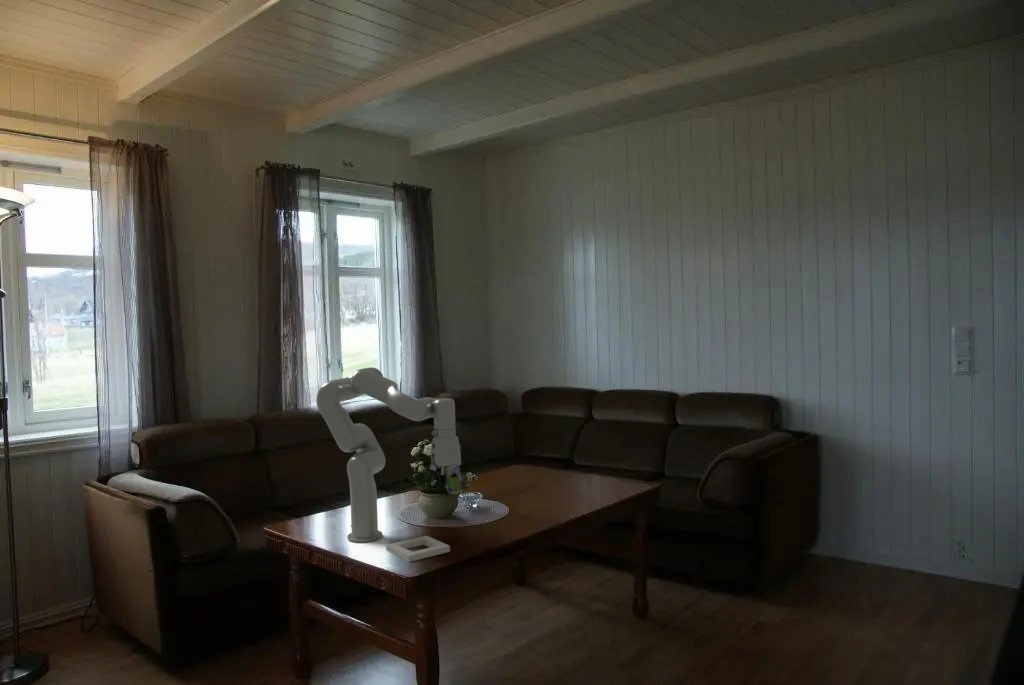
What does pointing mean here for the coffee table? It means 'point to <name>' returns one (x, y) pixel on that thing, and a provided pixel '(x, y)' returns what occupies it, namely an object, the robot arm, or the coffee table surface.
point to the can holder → (402, 552)
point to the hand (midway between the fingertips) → (446, 484)
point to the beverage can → (453, 479)
